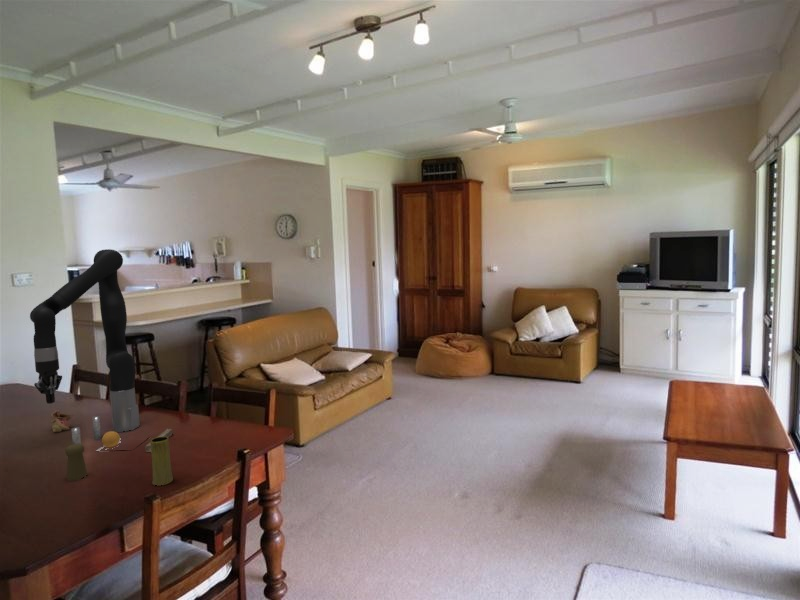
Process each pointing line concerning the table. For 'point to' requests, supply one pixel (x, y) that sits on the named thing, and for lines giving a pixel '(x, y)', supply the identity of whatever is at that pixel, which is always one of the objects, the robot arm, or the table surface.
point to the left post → (76, 435)
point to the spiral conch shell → (60, 421)
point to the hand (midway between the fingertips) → (50, 402)
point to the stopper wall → (165, 433)
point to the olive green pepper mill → (75, 462)
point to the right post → (97, 427)
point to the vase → (161, 461)
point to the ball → (110, 439)
